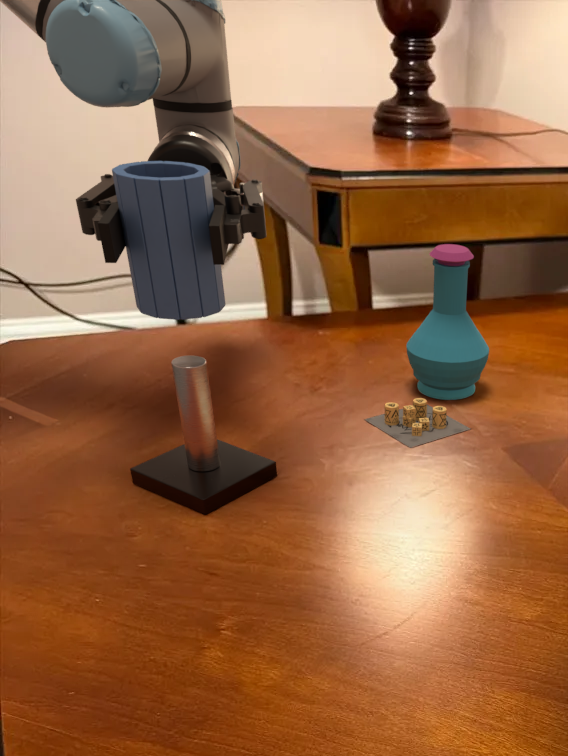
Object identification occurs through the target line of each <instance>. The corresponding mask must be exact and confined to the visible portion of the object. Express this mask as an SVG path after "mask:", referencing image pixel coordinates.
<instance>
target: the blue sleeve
mask: <svg viewBox="0 0 568 756" xmlns="http://www.w3.org/2000/svg"><path fill="white" fill-rule="evenodd" d="M111 173H112V174H111V175H112V176H113V179H114V185H115V190H116V196H117V201H118V207H119V212H120V218H121V223H122V229H123V234H124V240H125V245H126V246H125V250H126V256H127V262H128V266H129V272H130V279H131V284H132V290H133V295H134V300H135V306H136V308H137V309H138V311H139V312H140V313H141V314H142V315H145V316H149V317H151V318H154V319H163V320H176V321H180V320H181V321H182V320H183V321H185V320H193V319H202V318H206V317H209V316H213V315H215V314H219V313H220V312H222V310H223V309H224V308H225V307H226V297H225V289H224V280H223V279H224V278H223V271H222V265H214V263H213V255H212V247H211V239H210V231H209V224H210V220H211V217H212V214H213V211H214V203H213V195H212V186H211V178H210V171H209V170H208V169H207V168H205V167H204V166H200V165H195V164H191V163H185V162H172V161H164V162H163V161H148V160H146V161H145V160H142V161H134V162H133V161H132V162H128V163H122V164H119V165H116V166H115V167H113V168H112V169H111Z"/></svg>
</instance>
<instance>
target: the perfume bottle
mask: <svg viewBox="0 0 568 756" xmlns="http://www.w3.org/2000/svg"><path fill="white" fill-rule="evenodd" d="M429 256H430V257H431V258H433V259H432V266H433V296H432V297H433V298H432V299H433V300H432V303H433V304H432V309H431V310H430V311H429V313H428V315H427V316H426V317H425V319H423V321H422V322H421V324H420V325H419V327H418V328H417V329H416V330H415V331H414V333H412V335H411V337H410V338H409V339H408V341H407V342H406V345H405V346H406V355H407V358H408V359H407V360H408V362H409V365H410V367H411V369H412V373H413V376H414V378H415V379H416V380H417V381H418V382H417V385H416V386H417V387H416V388H417V390H418V392H419V393H420V394H422V395H424V396H426V397H429V398H432V399H437V400H444V401H457V400H462V399H466V398H469V397H471V396H473V395H474V394H475V392H476V383H477V382H478V381H480V379H481V375H482V372H483V371H484V369H485V368H486V365H487V363H488V361H489V354H490V347H489V345H488V344H487V342H486V340H485V338H484V336H483V335H482V334H481V332H480V331H479V329H478V328H477V326H476V324H475V323H474V321H473V319H472V318H471V316H470V314H469V313H468V311H467V296H468V295H467V294H468V276H469V274H468V273H469V268H470V267H471V262H470V261H471V260H473V259H474V258H475V255H474V254H473V253H472V252H471V250H470V249H469V248H468V247H467V246H464V245H460V244H453V243H444V244H443V243H442V244H437V245H436V246H435V247H434V248H433V249H432V250H431V251H429Z"/></svg>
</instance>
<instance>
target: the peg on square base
mask: <svg viewBox="0 0 568 756" xmlns="http://www.w3.org/2000/svg"><path fill="white" fill-rule="evenodd" d="M171 369H172V376H173V383H174V388H175V395H176V399H177V400H176V401H177V407H178V413H179V419H180V425H181V431H182V437H183V444H182V445H178V446H177V447H174V448H172V449H170V450H168V451H166V452H164V453H163V452H162V453H161V454H159V455H157V456H155V457H152V458H149V459H148V460H145V461H144V462H142V463H140V464H136V465H134V466H133V467H130V468H129V471H130V475H131V481H132V484H133V485H135V486H138V487H141V488H143V489H145V490H147V491H150V492H152V493H154V494H157V495H159V496H161V497H164V498H166V499H169V500H171V501H173V502H175V503H177V504H180V505H182V506H184V507H187V508H189V509H191V510H194V511H196V512H199V513H202V514H203V515H207V514H209V513H212V512H213V511H215V510H217V509H219V508H221V507H222V506H224V505H226V504H229V503H230V502H231V501H234V500H235V499H237V498H239V497H241V496H243V495H244V494H247V493H248V492H250V491H252V490H254V489H256V488H257V487H259V486H261V485H263V484H265V483H267V482H269V481H270V480H272V479H275V478H276V477H278V467H277V461H275V460H273V459H270V458H267V457H265V456H262V455H260V454H257V453H254V452H252V451H250V450H247V449H244V448H242V447H239V446H237V445H233V444H231V443H229V442H226V441H224V440H221V439H218V437H217V430H216V423H215V422H216V421H215V416H214V415H215V414H214V407H213V400H212V392H211V385H210V379H209V378H210V377H209V370H208V363H207V359H205V357H203V356H199V355H194V354H193V355H191V354H189V355H181V356H177V357H175V358H173V359H172V360H171Z"/></svg>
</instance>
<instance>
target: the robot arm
mask: <svg viewBox="0 0 568 756" xmlns="http://www.w3.org/2000/svg"><path fill="white" fill-rule="evenodd" d="M0 3H1V4H2V5H4V6H5V7H6V8H7V9H8V10H9V11H10V12H11V13H13V15H15V17H17V18H18V19H19V20H20V21H21V22H22V23H23V24H25V25H26V26H27V27H28V29H30V30H31V31H32V32H33V33H34V34H35V35H37V36H38V37H39V38H41V40H42V41H43V42H44V43H45V45H46V50H47V55H48V57H49V61H50V63H51V65H52V66H53V68H54V70H55V72H56V74H57V76H58V77H59V80H60V82H61V83H62V84H63V85H64V87H65V88H66V89H67V90H68V91H69V92H70V93H72V95H74V97H76V98H78V99H79V100H80V101H83V102H84V103H86V104H88V105H90V106H94V107H99V108H121V107H122V108H130V107H136V106H139V105H141V104H143V103H145V102H147V101H150V100H152V104H153V109H154V116H155V122H156V130H157V136H158V143H157V144H156V146H155V147H154V148H153V151H152V152H151V153H150V155H149V156H148V158H147V161H163V162H164V161H172V162H185V163H191V164H195V165H200V166H204V167H205V168H207V169H208V170H209V171H210V178H211V186H212V195H213V203H214V211H213V214H212V217H211V220H210V224H209V231H210V239H211V247H212V255H213V263H214V265H221V266H224V265H225V262H226V257H227V253H228V249H229V245H239V244H241V243H243V242H242V241H243V240H244V238H245V236H244V235H245V234H248V233H250V235H251V238H253V239H256V240H263V239H266V238H267V235H268V234H267V225H266V215H265V214H266V213H265V204H264V203H265V202H264V190H263V181H262V180H258V179H255V178H254V179H251V180H248V181H246V182H239V183H238V185H239V188H235V183H236V181H237V178H238V177H239V174H240V173H239V171H240V170H241V162H242V161H241V151H240V143H239V141H238V140H237V137H236V136H237V135H236V126H235V116H234V109H233V102H232V95H231V84H230V83H231V82H230V81H231V80H230V71H229V61H228V49H227V39H226V38H227V37H226V27H225V25H226V16H225V13H224V9H223V4H222V3H223V2H222V0H0ZM75 203H76V208H77V212H78V218H79V223H80V227H81V233H82V234H83V235H86V236H94V235H95V240H96V241H98V242H101V249H102V254H103V258H104V262H105V264H117V263H118V261H119V259H120V257H121V255H122V253H123V252H124V250H125V249H126V245H125V240H124V234H123V229H122V223H121V218H120V212H119V207H118V201H117V196H116V190H115V185H114V179H113V174H110V173H105V174H104V175H101V176H100V182H98V183H97V184H94V185H93V186H92V187H91V188H89V189H88V190H87V191H85V192H84V193H82V194H80V196H78V197H77V198H75Z"/></svg>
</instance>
